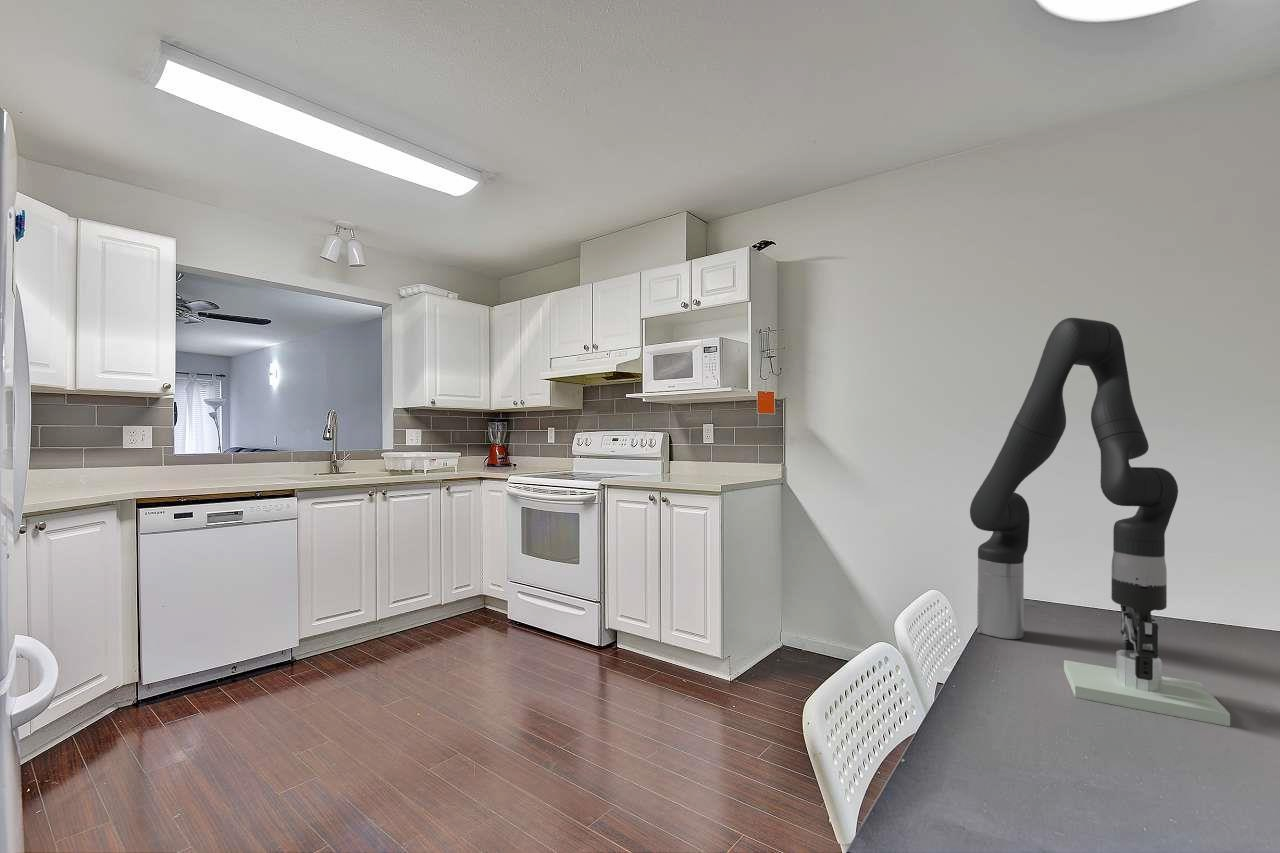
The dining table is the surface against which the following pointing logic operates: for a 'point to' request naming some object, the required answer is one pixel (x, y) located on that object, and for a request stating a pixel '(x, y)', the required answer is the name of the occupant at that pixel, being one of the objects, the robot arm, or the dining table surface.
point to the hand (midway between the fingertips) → (1138, 670)
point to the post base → (1146, 694)
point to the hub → (1127, 672)
